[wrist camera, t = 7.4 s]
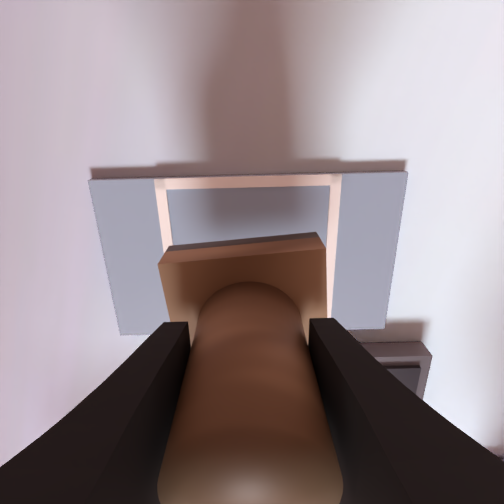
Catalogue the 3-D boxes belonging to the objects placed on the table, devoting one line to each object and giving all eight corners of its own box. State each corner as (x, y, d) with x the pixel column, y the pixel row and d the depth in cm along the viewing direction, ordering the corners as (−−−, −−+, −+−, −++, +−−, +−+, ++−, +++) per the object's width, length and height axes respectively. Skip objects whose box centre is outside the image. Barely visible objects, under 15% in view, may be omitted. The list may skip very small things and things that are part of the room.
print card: (404, 170, 13) (409, 172, 12) (382, 324, 15) (385, 330, 15) (91, 178, 13) (86, 181, 12) (122, 331, 15) (119, 336, 15)
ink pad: (421, 341, 16) (434, 358, 15) (400, 445, 18) (409, 466, 17) (252, 345, 16) (253, 363, 15) (255, 449, 18) (256, 470, 17)
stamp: (316, 231, 10) (399, 371, 5) (319, 352, 12) (383, 563, 6) (169, 245, 10) (72, 398, 5) (193, 363, 12) (143, 579, 6)
